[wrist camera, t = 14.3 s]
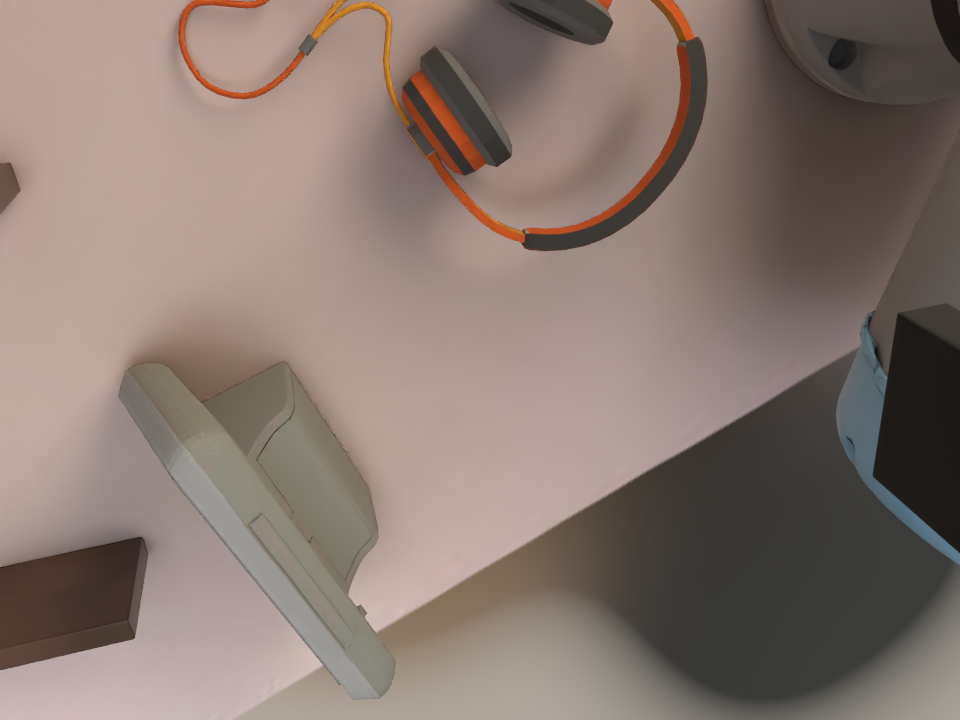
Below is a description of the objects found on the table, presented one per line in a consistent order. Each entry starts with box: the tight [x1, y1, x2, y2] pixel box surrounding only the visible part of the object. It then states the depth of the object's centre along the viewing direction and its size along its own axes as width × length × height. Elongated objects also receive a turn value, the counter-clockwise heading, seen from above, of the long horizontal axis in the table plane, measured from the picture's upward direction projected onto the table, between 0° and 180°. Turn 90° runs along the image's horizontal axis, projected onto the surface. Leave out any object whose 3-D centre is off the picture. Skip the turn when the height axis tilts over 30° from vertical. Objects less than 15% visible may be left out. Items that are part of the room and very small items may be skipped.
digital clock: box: [118, 362, 396, 700], centre depth 39 cm, size 16×9×11 cm, turn 12°
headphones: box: [178, 0, 708, 251], centre depth 34 cm, size 17×5×20 cm
